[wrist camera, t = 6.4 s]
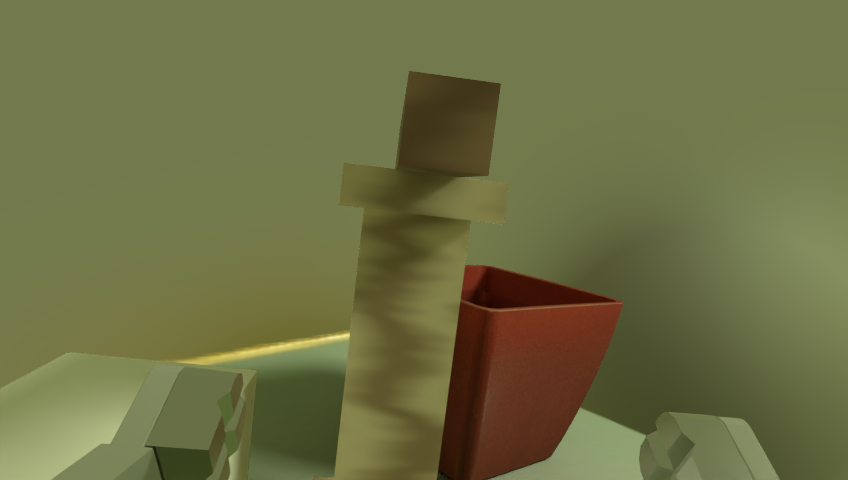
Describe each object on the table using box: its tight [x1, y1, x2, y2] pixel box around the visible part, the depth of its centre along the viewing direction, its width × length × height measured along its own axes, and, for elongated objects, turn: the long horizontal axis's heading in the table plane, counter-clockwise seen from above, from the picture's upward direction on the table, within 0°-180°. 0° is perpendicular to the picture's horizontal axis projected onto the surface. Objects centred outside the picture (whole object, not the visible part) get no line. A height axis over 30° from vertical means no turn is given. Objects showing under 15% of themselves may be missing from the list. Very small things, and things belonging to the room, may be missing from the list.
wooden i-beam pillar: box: [313, 163, 509, 480], centre depth 34 cm, size 10×14×26 cm
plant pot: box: [438, 265, 623, 480], centre depth 54 cm, size 19×19×17 cm
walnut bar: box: [395, 71, 501, 177], centre depth 28 cm, size 3×22×3 cm, turn 3°
